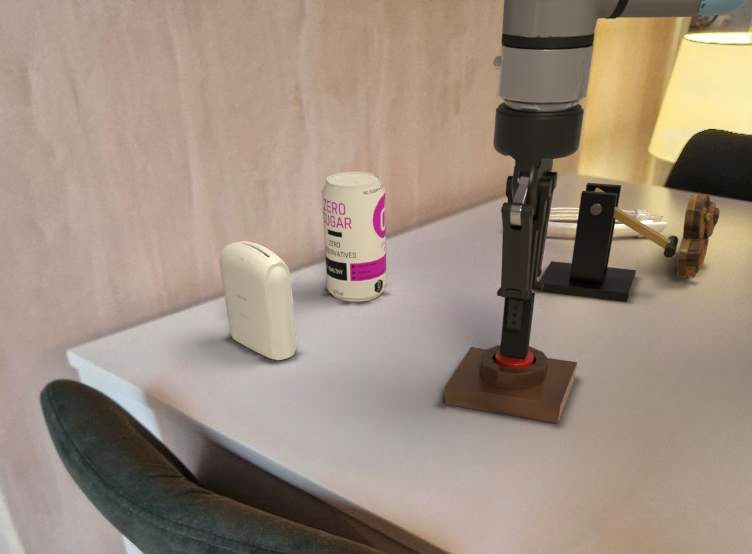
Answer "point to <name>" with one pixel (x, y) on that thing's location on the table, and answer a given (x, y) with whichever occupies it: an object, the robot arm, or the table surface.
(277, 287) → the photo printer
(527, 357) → the button
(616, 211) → the lever
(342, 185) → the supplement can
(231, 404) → the table surface
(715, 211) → the wooden carving
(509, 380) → the button block
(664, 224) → the white piece
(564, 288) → the bracket
